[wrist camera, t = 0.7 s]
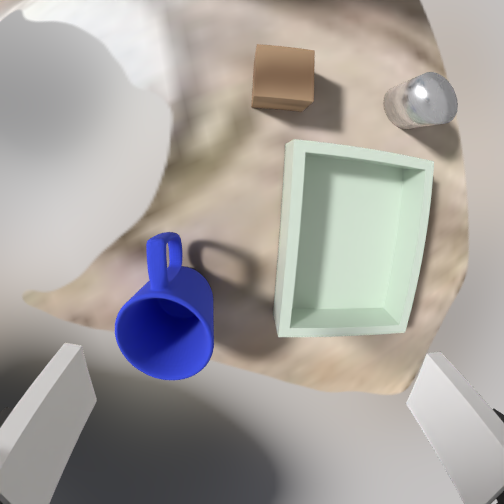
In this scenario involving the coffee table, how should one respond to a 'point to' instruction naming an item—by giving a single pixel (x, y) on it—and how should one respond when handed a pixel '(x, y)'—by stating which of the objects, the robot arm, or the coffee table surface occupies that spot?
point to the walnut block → (283, 78)
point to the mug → (168, 316)
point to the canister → (421, 102)
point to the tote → (349, 239)
